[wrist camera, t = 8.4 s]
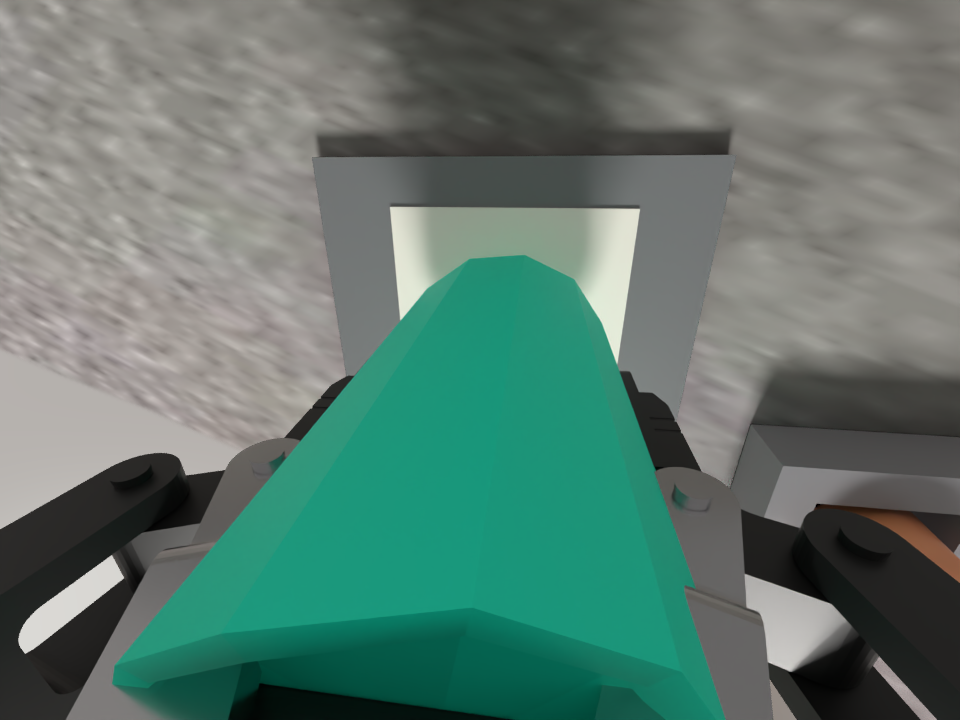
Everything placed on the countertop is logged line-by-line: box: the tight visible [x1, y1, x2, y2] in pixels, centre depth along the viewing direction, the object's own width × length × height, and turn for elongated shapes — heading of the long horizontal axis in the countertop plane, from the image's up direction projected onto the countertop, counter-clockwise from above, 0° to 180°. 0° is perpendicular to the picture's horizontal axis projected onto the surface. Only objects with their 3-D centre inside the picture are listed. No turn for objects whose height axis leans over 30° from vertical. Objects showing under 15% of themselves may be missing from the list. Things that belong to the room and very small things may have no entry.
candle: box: [112, 255, 726, 720], centre depth 8 cm, size 6×6×12 cm
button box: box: [730, 424, 960, 559], centre depth 17 cm, size 8×8×2 cm
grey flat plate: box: [312, 155, 736, 422], centre depth 16 cm, size 13×11×1 cm
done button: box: [813, 504, 960, 583], centre depth 15 cm, size 4×4×3 cm
